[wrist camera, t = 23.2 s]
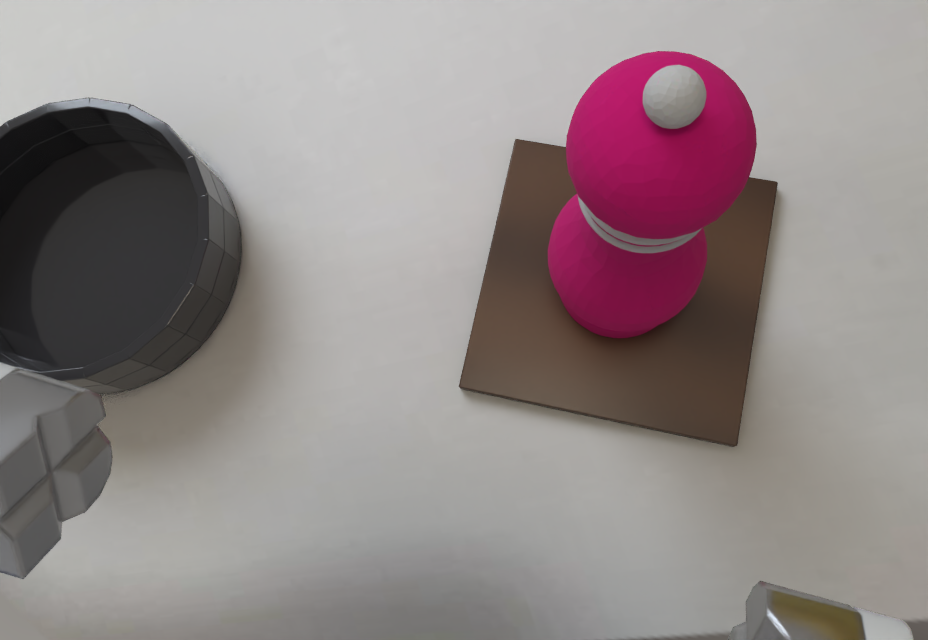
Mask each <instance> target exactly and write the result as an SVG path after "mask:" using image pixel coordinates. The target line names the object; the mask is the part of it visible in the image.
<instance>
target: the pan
mask: <svg viewBox="0 0 928 640" xmlns="http://www.w3.org/2000/svg"><path fill="white" fill-rule="evenodd" d="M240 259H241V234H240V228H239V223H238V217H237V214H236V211H235V208H234V205H233V202H232V200H231V198H230V196H229V194H228V192H227V190H226V188H225V187H224V185H223V183H222V182H221V181H220V180H219V178H218V177H217V176H216V175H215V173H214V172H213V171H212V170H211V169H210V168H209V167H208V166H207V164H206V163H205V162H204V161H203V160H202V159H201V158H200V156H199V155H198V154H197V153H196V152H195V151H194V150H193V149H192V148H191V147H190V146H189V145H188V144H187V143H186V142H185V141H184V140H183V139H182V138H181V137H180V136H179V135H178V134H177V133H176V132H175V131H174V130H173V129H172V128H171V127H170V126H169V125H167V124H166V123H165V122H163V121H161V120H159V119H157V118H155V117H154V116H152V115H150V114H148V113H146V112H145V111H143V110H141V109H139V108H137V107H136V106H134V105H131V104H126V103H120V102H114V101H108V100H102V99H96V98H83V99H76V100H69V101H61V102H54V103H48V104H45V105H43V106H40V107H38V108H36V109H34V110H31V111H29V112H27V113H25V114H22V115H20V116H18V117H16V118H13V119H11V120H9V121H7V122H5V123H4V124H3V125H2V126H0V362H1V363H4V364H7V365H11V366H14V367H17V368H20V369H25V370H29V371H32V372H35V373H38V374H41V375H44V376H48V377H51V378H54V379H57V380H60V381H63V382H67V383H70V384H73V385H76V386H79V387H82V388H86V389H89V390H91V391H93V392H95V393H97V394H106V393H115V392H121V391H125V390H129V389H133V388H137V387H139V386H142V385H144V384H147V383H149V382H152V381H154V380H156V379H158V378H160V377H161V376H163V375H165V374H167V373H169V372H170V371H172V370H173V369H175V368H176V367H177V366H179V365H180V364H182V363H183V362H184V361H186V360H187V359H188V358H189V357H190V356H191V355H192V354H193V353H194V352H195V351H197V350H198V349H199V348H200V347H201V345H202V344H203V343H204V342H205V341H206V340H207V338H208V337H209V336H210V335H211V334H212V332H213V331H214V329H215V328H216V326H217V325H218V323H219V322H220V320H221V319H222V317H223V315H224V313H225V311H226V309H227V307H228V305H229V303H230V300H231V297H232V295H233V292H234V289H235V286H236V282H237V278H238V274H239V269H240Z"/></svg>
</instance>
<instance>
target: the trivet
mask: <svg viewBox="0 0 928 640" xmlns="http://www.w3.org/2000/svg"><path fill="white" fill-rule="evenodd" d="M777 184H778V183H777V182H775V181H768V180H762V179H756V178H750V177H749V178H748V180H747V182H746V185H745V187H744V189H743V191H742V192H741V193H740V195H739V196H738V197H737V199H736V200H735V201H734V203H733V204H732V205H731V207H730V208H729V209H727V210H726V211H725V212H724V213H723V214H722V215H721V216H720V217H719V218H718V219H717V220H716V221H714V222H712V223H710V224H708V225H707V226H705V227H703V228H704V232H705V237H706V242H707V262H706V266H705V270H704V273H703V277H702V280H701V282H700V284H699V286H698V289H697V291H696V293H695V295H694V296H693V297H692V299H691V300H690V301H689V303H688V304H687V305H686V307H684V308H683V309H682V310H681V311H680V312H679V313H678V314H677V315H675V316H674V317H672V318H671V319H669V320H668V321H666V322H664V323H662V324H659V325H658V326H656V327H655V328H653V329H652V330H650V331H648V332H646V333H644V334H641V335H638V336H634V337H629V338H611V337H606V336H601V335H598V334H595V333H593V332H591V331H589V330H587V329H586V328H584V327H583V326H581V325H580V324H579V323H577V322H576V321H575V320H574V319H573V318H572V317H571V316H570V314H569V313H568V311H567V310H566V308H565V306H564V304H563V302H562V300H561V298H560V296H559V294H558V292H557V290H556V289H555V287H554V284H553V281H552V279H551V276H550V272H549V267H548V246H549V241H550V236H551V233H552V229H553V226H554V223H555V220H556V219H557V217H558V215H559V213H560V212H561V210H562V208H563V207H564V206H565V205H566V204H567V202H568V201H569V200H570V199H571V198H572V197H573V196H574V195H576V194H577V192H576V189H575V187H574V185H573V182H572V180H571V177H570V175H569V173H568V166H567V159H566V147H561V146H555V145H549V144H543V143H537V142H531V141H525V140H519V139H516V140H515V143H514V147H513V151H512V156H511V160H510V165H509V169H508V173H507V178H506V182H505V186H504V191H503V195H502V200H501V204H500V208H499V213H498V217H497V221H496V226H495V230H494V235H493V239H492V243H491V248H490V252H489V257H488V261H487V265H486V270H485V274H484V278H483V283H482V287H481V292H480V296H479V300H478V305H477V309H476V314H475V318H474V322H473V327H472V331H471V335H470V340H469V344H468V349H467V353H466V357H465V362H464V366H463V370H462V375H461V379H460V384H459V387H460V388H461V389H464V390H469V391H474V392H478V393H483V394H488V395H492V396H497V397H502V398H506V399H511V400H516V401H521V402H525V403H530V404H535V405H539V406H544V407H549V408H553V409H558V410H563V411H568V412H572V413H577V414H582V415H586V416H591V417H596V418H601V419H605V420H610V421H615V422H619V423H624V424H629V425H633V426H638V427H643V428H648V429H652V430H657V431H662V432H666V433H671V434H676V435H680V436H685V437H690V438H695V439H699V440H704V441H709V442H713V443H718V444H723V445H728V446H732V447H734V446H737V442H738V436H739V429H740V423H741V416H742V410H743V403H744V397H745V390H746V384H747V378H748V371H749V365H750V358H751V352H752V345H753V339H754V332H755V326H756V320H757V313H758V307H759V300H760V294H761V287H762V281H763V274H764V268H765V261H766V255H767V249H768V242H769V236H770V229H771V223H772V216H773V210H774V203H775V197H776V191H777Z"/></svg>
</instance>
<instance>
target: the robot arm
mask: <svg viewBox="0 0 928 640" xmlns="http://www.w3.org/2000/svg"><path fill="white" fill-rule="evenodd" d="M105 416H106V414H105V410H104V406H103V401H102V397H101V395H99V394H97V393H95V392H93V391H91V390H89V389H86V388H82V387H79V386H76V385H73V384H70V383H67V382H63V381H60V380H57V379H54V378H51V377H48V376H44V375H41V374H38V373H35V372H32V371H29V370H25V369H20V368H17V367H14V366H11V365H7V364H4V363H1V362H0V572H1V573H4V574H8V575H11V576H14V577H18V578H21V579H24V578H25V577H26V576H27V575H28V574H29V573H30V571H31V570H32V569H33V568H34V567H35V566H36V565H37V564H38V563H39V562H40V561H41V560H42V559H43V557H44V556H45V555H46V554H47V553H48V552H49V551H50V550H51V549H52V548H53V547H54V546H55V544H56V543H57V542H58V541H59V540H60V539H61V532H62V522H63V521H65V520H68V519H70V518H73V517H75V516H77V515H80V514H82V513H85V512H86V511H87V510H88V508H89V507H90V506H91V505H92V504H93V503H94V502H95V500H96V499H97V498H98V497H99V496H100V494H101V492H102V490H103V488H104V486H105V484H106V482H107V480H108V477H109V475H110V471H111V464H112V450H111V444H110V441H109V440H108V439H107V437H106V436H105V435H104V434H103V432H102V431H101V430H100V428H99V427H98V426H97V425H98V424H99V423H100V422H101V421H102V420H103V418H104V417H105ZM728 640H914V639H913V635H912V631H911V629H910V628H909V626H908V625H907V624H906V622H905V621H904V620H900V619H896V618H893V617H889V616H886V615H882V614H878V613H875V612H871V611H868V610H864V609H860V608H857V607H854V608H852V607H851V606H850V605H847V604H843V603H839V602H836V601H832V600H828V599H825V598H821V597H817V596H814V595H810V594H807V593H803V592H799V591H796V590H792V589H788V588H785V587H781V586H777V585H774V584H770V583H767V582H763V581H759V582H758V583H757V584H756V585H755V586H754V587H753V589H752V591H751V592H750V594H749V596H748V598H747V600H746V622H744V623H742V624H739V625H737V626H734V627H733V629H732V631H731V633H730V636H729V638H728Z"/></svg>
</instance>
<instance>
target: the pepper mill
mask: <svg viewBox="0 0 928 640" xmlns="http://www.w3.org/2000/svg"><path fill="white" fill-rule="evenodd" d="M756 145H757V143H756V128H755V123H754V119H753V115H752V111H751V108H750V106H749V104H748V102H747V100H746V98H745V96H744V94H743V93H742V91H741V90H740V88H739V87H738V86H737V84H736V83H735V82H734V81H733V80H732V79H731V78H730V77H729V76H728V75H727V74H726V73H725V72H724V71H723V70H721V69H720V68H718V67H717V66H715V65H714V64H712V63H710V62H709V61H707V60H704V59H702V58H699V57H696V56H694V55H691V54H686V53H680V52H668V51H657V52H651V53H645V54H641V55H639V56H636V57H633V58H630V59H627V60H624V61H622V62H620V63H618V64H616V65H615V66H613V67H611V68H610V69H608V70H607V71H606V72H604V73H603V74H602V75H600V76H599V77H598V78H597V79H596V80H595V81H594V82H593V83H592V84H591V85H590V87H589V88H588V90H587V91H586V92H585V94H584V95H583V96H582V98H581V99H580V101H579V103H578V105H577V107H576V109H575V111H574V114H573V116H572V120H571V123H570V127H569V130H568V134H567V142H566V159H567V166H568V173H569V175H570V177H571V180H572V182H573V185H574V187H575V189H576V192H577V194H576V195H574V196H573V197H572V198H571V199H570V200H569V201H568V202H567V204H566V205H565V206H564V207H563V208H562V210H561V212H560V213H559V215H558V217H557V219H556V220H555V223H554V226H553V229H552V233H551V236H550V241H549V246H548V267H549V272H550V276H551V279H552V281H553V284H554V287H555V289H556V290H557V292H558V294H559V296H560V298H561V300H562V302H563V304H564V306H565V308H566V310H567V311H568V313H569V314H570V316H571V317H572V318H573V319H574V320H575V321H576V322H577V323H579V324H580V325H581V326H583V327H584V328H586V329H587V330H589V331H591V332H593V333H595V334H598V335H601V336H606V337H611V338H629V337H634V336H638V335H641V334H644V333H646V332H648V331H650V330H652V329H653V328H655V327H656V326H658V325H659V324H662V323H664V322H666V321H668V320H669V319H671V318H672V317H674V316H675V315H677V314H678V313H679V312H680V311H681V310H682V309H683V308H684V307H686V305H687V304H688V303H689V301H690V300H691V299H692V297H693V296H694V295H695V293H696V291H697V289H698V286H699V284H700V282H701V280H702V277H703V273H704V270H705V266H706V262H707V242H706V237H705V232H704V228H703V227H705V226H707V225H708V224H710V223H712V222H714V221H716V220H717V219H718V218H719V217H720V216H721V215H722V214H723V213H724V212H725V211H726V210H727V209H729V208H730V207H731V205H732V204H733V203H734V201H735V200H736V199H737V197H738V196H739V195H740V193H741V192H742V191H743V189H744V187H745V185H746V182H747V180H748V178H749V175H750V172H751V169H752V166H753V162H754V158H755V151H756Z"/></svg>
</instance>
